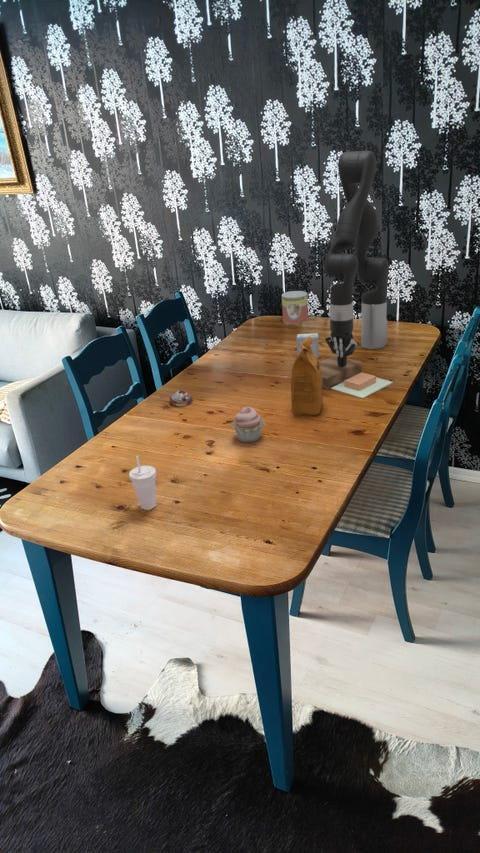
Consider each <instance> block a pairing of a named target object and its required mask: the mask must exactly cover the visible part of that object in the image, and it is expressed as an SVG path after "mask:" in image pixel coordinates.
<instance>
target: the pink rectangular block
mask: <svg viewBox="0 0 480 853" xmlns="http://www.w3.org/2000/svg"><path fill="white" fill-rule="evenodd" d="M376 377H377V376H376V375H373V374H370V373H366V372H363V371H362V372H361V373H359V374H357V375H355V376H353V377H351V378H349V379H347V380H344V386H345V387H347V388H351V389H354V390H357V391H360V390H362V389H364V388H366V387H368V386H370V385H372V384H374V383H376Z"/></svg>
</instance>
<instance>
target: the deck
mask: <svg viewBox="0 0 480 853" xmlns="http://www.w3.org/2000/svg"><path fill="white" fill-rule="evenodd" d="M337 361H338V360H337V356H336V354H334V355H333V356H330V357H329V358H326V359H324V360H321V361H319V362H320V366H321V369H322V376H323V390H327V391H328V390H331V388H332V387H334V386H336V385H338V384H340V383H342V382H344V380H347V379H349V378H351V377H353V376H355V375H357V374H359V373H361V372H363V362H362V361H357V360H355V359H350V358H347V365H346V366H345V367H343V368H341V367H338V363H337Z"/></svg>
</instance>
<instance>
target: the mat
mask: <svg viewBox="0 0 480 853" xmlns="http://www.w3.org/2000/svg"><path fill="white" fill-rule="evenodd" d="M393 382H394V381H392V380H391V381H390V380H387V379H384V378H379V377H377V376H376V383H374V384H372V385H370V386H368V387H366V388H364V389H362V390H360V391H357V390H354V389H351V388H347V387H345V386H344V382H342V383H340V384H338V385H336V386H334V387H332V388H330V390H333V391H336V392H339V393H342V394H346V395H349V396H352V397H355V398H358V399H361V400H362V399H366V398H367V397H369V396H371V395H373V394H374V393H377V392H379V391H380V390H382V389H384V388H387V387H388V386H391V385H392V384H393Z"/></svg>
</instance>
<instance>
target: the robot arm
mask: <svg viewBox="0 0 480 853" xmlns="http://www.w3.org/2000/svg"><path fill="white" fill-rule="evenodd" d="M375 154H376V153H374V152H373V151H371V150H355V151H345V152H342V153H341V154H340V156H339V158H338V163H337V164H338V165H337V166H338V167H337V168H338V169H337V170H338V176H339V180H340V184H341V188H342V191H343V195H344V199H345V203H346V206H344V208H343V210H342V211H341V212H340V214H339V216H338V219H337V223H336V229H335V234H334V239H333V240H332V243H331V246H330V248H329V250H328V252H327V254H326V256H325V257H324V262H323V270H324V273H325V274H326V276H329V277H337V278H344V280H343V282H338V283H334V284H331V285H330V289H329V296H330V297H329V299H330V300H329V301H330V302H329V304H330V305H329V331H330V333H329V334H330V335H329V336H327V337H325V339H324V341H325V342H326V344H327V346H328V347H329V349H330V351H331V353H332V354H333V355H336V356H337V360H338V361H337V363H338V367H341V368H343V367H345V366H346V365H347V359H348V357H349V356H351V355H352V354H353V353H354V352H355V351H356V349H357V348H358V347H359V345H360V346H361V347H362V348H364V349H368V350H379V349H383V348H385V347H386V345H387V344H388V321H389V320H388V319H387V312H388V311H387V308H388V307H387V304H388V285H389V284H388V282H389V273H390V272H389V271H390V268H389V267H390V264H389V260H388V258H386V257H368V255H367V253H368V252H367V251H369V250H368V249H369V248H370V246H371V244H372V243H373V242H374V240H375V239H376V237H377V236H378V232H379V222H378V214H377V210H376V209H375V207H374V205H373V204H372V203H371V201H369V199H368V198H369V195H370V192H371V189H372V185H373V183H374V179H375V175H376V170H377V158H376V157H377V156H376V155H375ZM358 183H359V184H358ZM353 248H354V253H355V254H353V253H343V251H347V250H350V249H353ZM356 276H357V278H358V281H359V282H360V283H361V284H374V285H375V284H376V287H375V288H373V289H371V290H368V291H366V292H364V293H362V294H361V307H360V308H361V311H360V313H361V326H360V327H361V333H360V334H361V337H360V338H361V344H360V343H359V342H358V341H355V340H354V336H353V331H354V306H353V305H354V304H353V292H354V291H353V289H354V284H355V279H356Z"/></svg>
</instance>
